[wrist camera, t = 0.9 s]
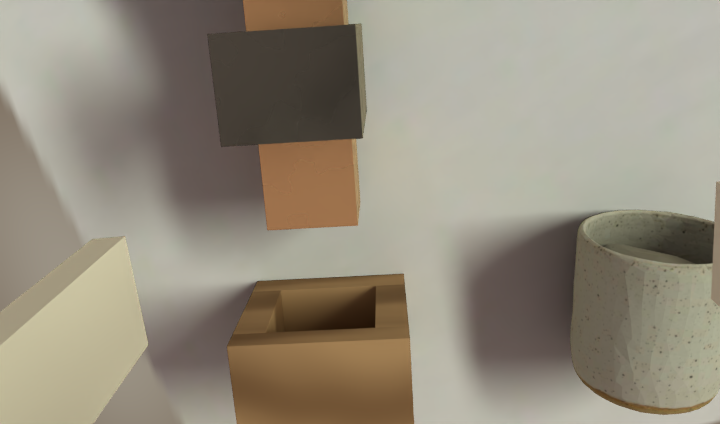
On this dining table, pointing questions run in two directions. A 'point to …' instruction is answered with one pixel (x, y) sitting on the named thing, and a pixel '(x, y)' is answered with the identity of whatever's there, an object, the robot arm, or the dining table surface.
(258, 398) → the socket
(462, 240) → the dining table surface
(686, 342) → the ceramic mug
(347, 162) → the tan wooden post
